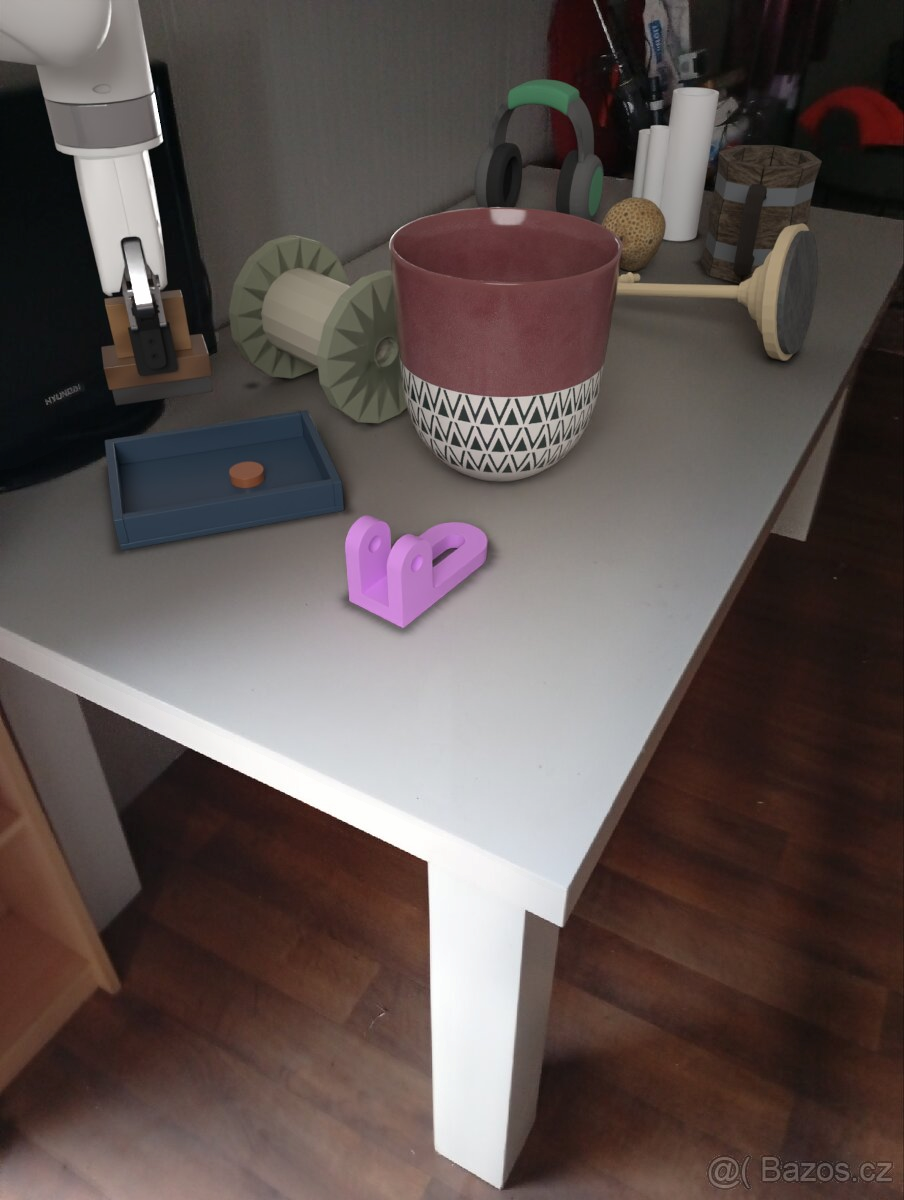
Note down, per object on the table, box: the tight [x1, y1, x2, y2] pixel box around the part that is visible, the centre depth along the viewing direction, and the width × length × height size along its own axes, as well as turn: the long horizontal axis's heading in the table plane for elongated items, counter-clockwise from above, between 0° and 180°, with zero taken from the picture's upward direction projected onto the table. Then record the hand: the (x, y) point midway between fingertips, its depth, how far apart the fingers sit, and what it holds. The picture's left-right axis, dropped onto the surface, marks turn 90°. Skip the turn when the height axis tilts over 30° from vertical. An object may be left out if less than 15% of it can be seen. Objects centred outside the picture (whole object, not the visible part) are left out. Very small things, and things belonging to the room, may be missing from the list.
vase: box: [631, 86, 720, 242], centre depth 143 cm, size 11×7×20 cm, turn 61°
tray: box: [104, 409, 345, 551], centre depth 88 cm, size 20×15×3 cm
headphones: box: [473, 78, 605, 222], centre depth 148 cm, size 19×11×20 cm, turn 66°
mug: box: [700, 144, 823, 285], centre depth 130 cm, size 20×14×15 cm
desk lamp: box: [616, 223, 819, 362], centre depth 113 cm, size 15×35×40 cm
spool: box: [228, 234, 408, 424], centre depth 100 cm, size 16×15×15 cm
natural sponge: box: [600, 197, 666, 272], centre depth 133 cm, size 9×9×10 cm
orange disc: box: [229, 462, 265, 488], centre depth 89 cm, size 3×3×1 cm
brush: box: [101, 289, 214, 406], centre depth 79 cm, size 8×4×8 cm, turn 109°
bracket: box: [344, 514, 488, 629], centre depth 76 cm, size 13×6×7 cm, turn 143°
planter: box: [389, 207, 623, 482], centre depth 86 cm, size 20×20×21 cm
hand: (155, 357), depth 80 cm, fingers closed on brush, 4 cm apart
